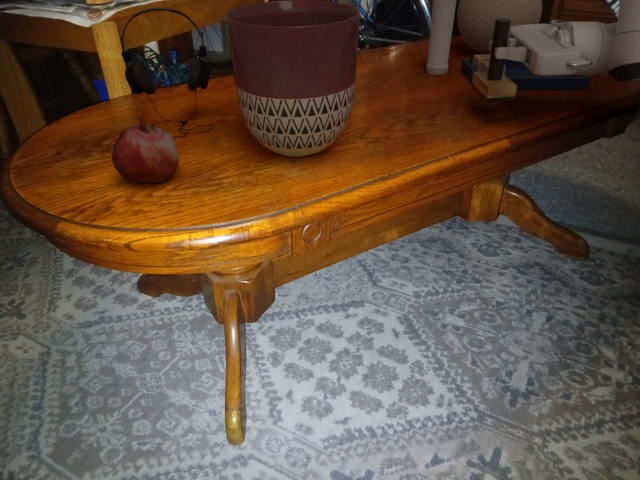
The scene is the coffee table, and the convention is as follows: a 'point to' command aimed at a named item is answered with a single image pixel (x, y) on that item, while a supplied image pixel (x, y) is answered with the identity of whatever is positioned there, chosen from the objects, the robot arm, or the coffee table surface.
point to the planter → (294, 71)
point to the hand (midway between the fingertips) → (492, 49)
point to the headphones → (143, 80)
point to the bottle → (440, 36)
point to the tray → (533, 77)
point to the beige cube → (485, 67)
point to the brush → (496, 69)
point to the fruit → (145, 154)
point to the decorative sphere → (493, 18)
